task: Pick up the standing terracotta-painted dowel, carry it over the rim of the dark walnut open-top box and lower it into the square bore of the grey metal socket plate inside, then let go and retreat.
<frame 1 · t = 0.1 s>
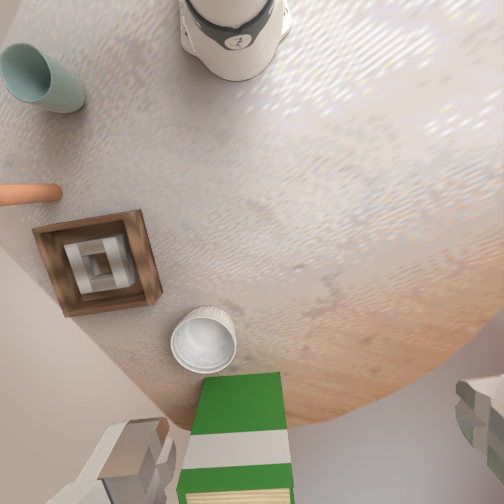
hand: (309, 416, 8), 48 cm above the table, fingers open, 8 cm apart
cup: (71, 94, 49), on the table
hardback book: (243, 387, 65), on the table
box: (110, 259, 57), on the table
peg: (54, 192, 54), on the table
ramekin: (209, 327, 61), on the table
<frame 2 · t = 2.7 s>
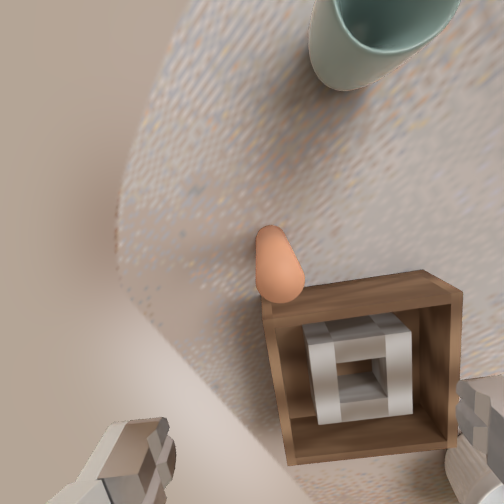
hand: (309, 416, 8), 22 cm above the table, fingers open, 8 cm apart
cup: (342, 55, 25), on the table
box: (346, 350, 33), on the table
peg: (270, 239, 29), on the table
ramekin: (482, 452, 37), on the table
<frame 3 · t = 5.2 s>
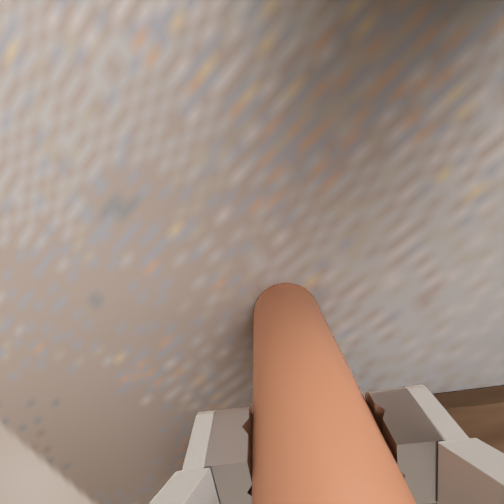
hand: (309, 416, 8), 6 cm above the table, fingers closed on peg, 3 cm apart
peg: (285, 313, 14), on the table, touching gripper
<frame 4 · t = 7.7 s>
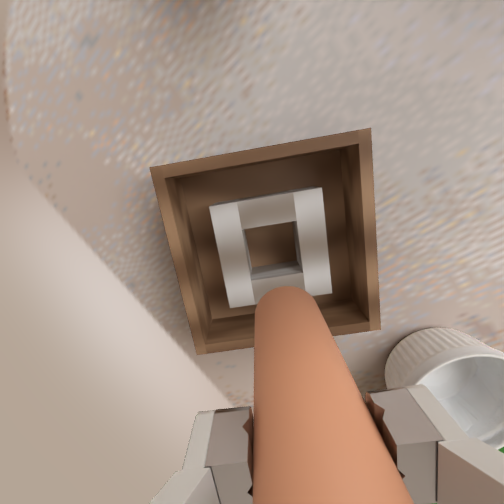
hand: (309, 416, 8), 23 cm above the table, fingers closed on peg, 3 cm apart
box: (270, 239, 30), on the table
peg: (286, 315, 14), point 17 cm above the table, touching gripper
ramekin: (426, 363, 34), on the table
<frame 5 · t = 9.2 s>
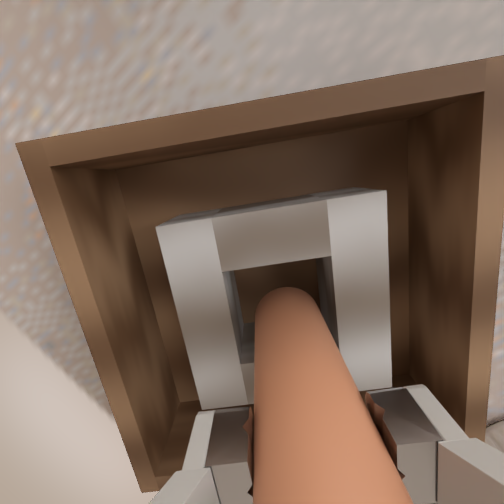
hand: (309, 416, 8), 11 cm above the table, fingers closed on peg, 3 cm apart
box: (275, 276, 18), on the table
peg: (286, 316, 14), point 4 cm above the table, touching gripper
when the fingers open (8 cm above the table, at t = 10.3 s): peg stays where it is, resting on box.
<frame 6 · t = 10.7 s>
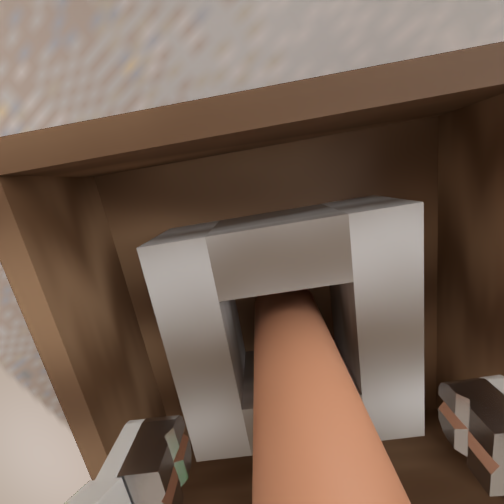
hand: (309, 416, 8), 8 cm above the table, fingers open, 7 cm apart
box: (281, 297, 15), on the table
peg: (284, 307, 15), point 1 cm above the table, touching box
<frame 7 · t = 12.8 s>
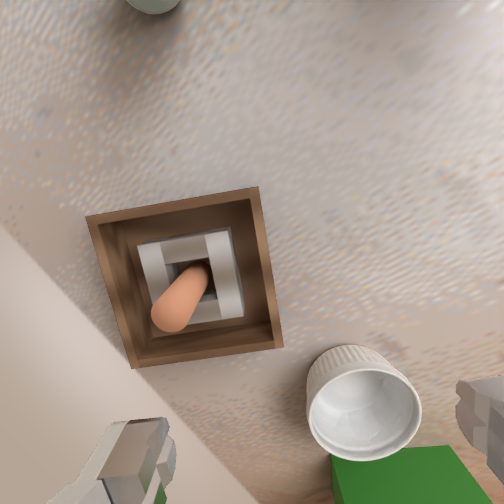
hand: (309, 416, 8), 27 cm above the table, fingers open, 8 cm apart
hardback book: (388, 467, 42), on the table
box: (200, 269, 35), on the table
peg: (199, 272, 34), point 1 cm above the table, touching box
ramekin: (345, 376, 39), on the table
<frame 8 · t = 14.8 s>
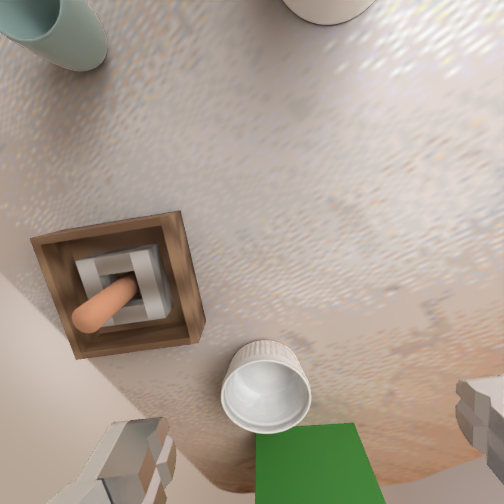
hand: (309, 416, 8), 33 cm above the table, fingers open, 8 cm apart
cup: (87, 46, 34), on the table
hardback book: (305, 440, 50), on the table
box: (137, 277, 42), on the table
peg: (134, 280, 41), point 1 cm above the table, touching box
ramekin: (264, 366, 46), on the table
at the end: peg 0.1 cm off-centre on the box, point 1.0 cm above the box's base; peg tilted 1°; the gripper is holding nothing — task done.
